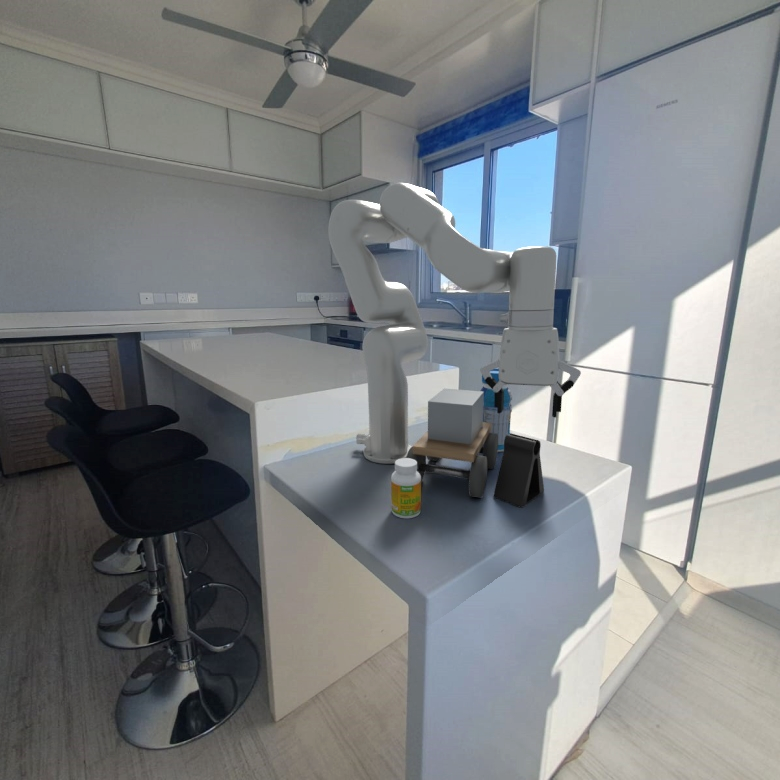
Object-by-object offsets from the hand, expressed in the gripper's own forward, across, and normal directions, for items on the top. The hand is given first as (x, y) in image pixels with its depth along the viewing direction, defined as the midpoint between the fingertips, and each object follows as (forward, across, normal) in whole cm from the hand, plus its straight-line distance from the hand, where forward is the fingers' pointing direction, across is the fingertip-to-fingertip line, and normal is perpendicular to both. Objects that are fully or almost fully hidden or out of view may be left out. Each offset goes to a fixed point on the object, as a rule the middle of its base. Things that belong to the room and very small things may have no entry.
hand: (526, 413), depth 77 cm
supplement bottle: (+17, -19, -14) cm, 29 cm away
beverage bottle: (+17, -10, +24) cm, 31 cm away
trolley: (+16, -15, +4) cm, 23 cm away
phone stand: (+17, -1, 0) cm, 17 cm away
